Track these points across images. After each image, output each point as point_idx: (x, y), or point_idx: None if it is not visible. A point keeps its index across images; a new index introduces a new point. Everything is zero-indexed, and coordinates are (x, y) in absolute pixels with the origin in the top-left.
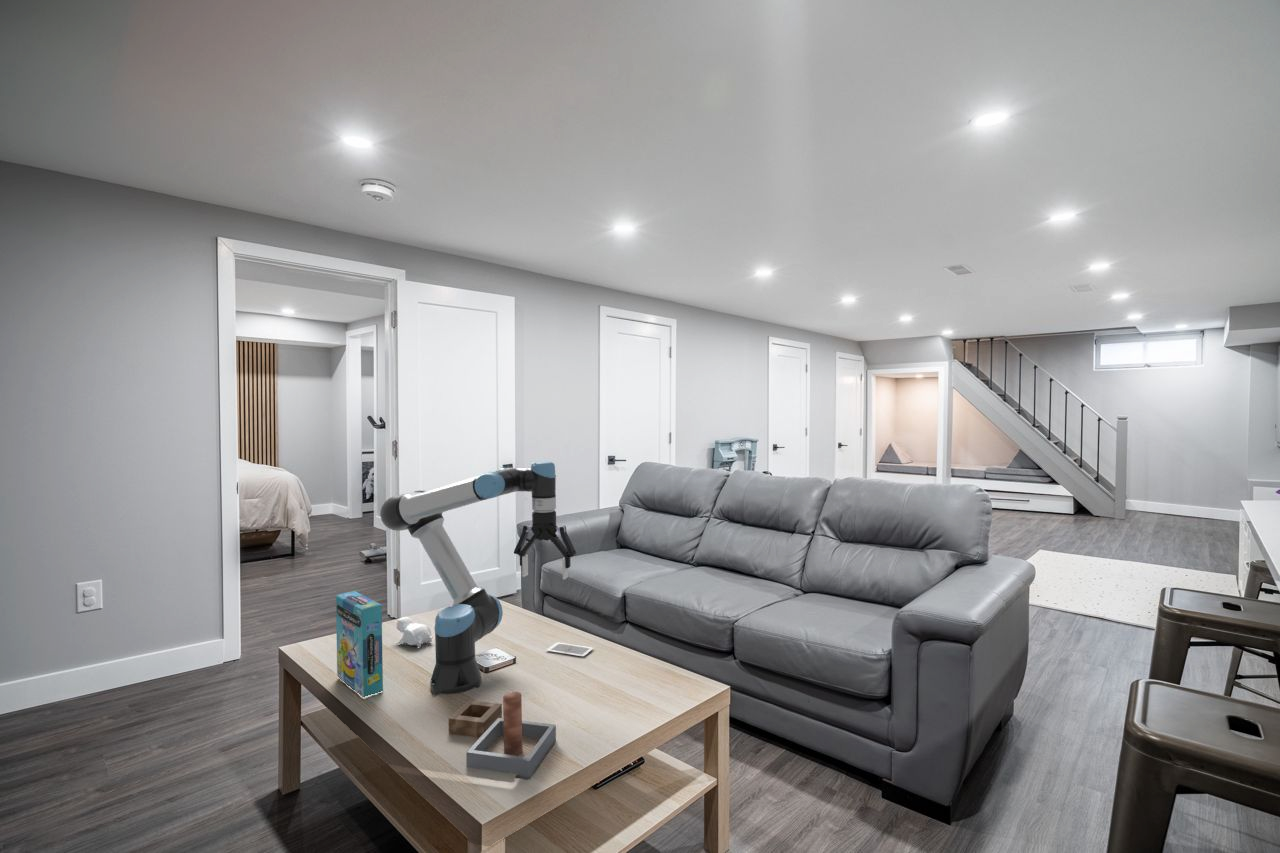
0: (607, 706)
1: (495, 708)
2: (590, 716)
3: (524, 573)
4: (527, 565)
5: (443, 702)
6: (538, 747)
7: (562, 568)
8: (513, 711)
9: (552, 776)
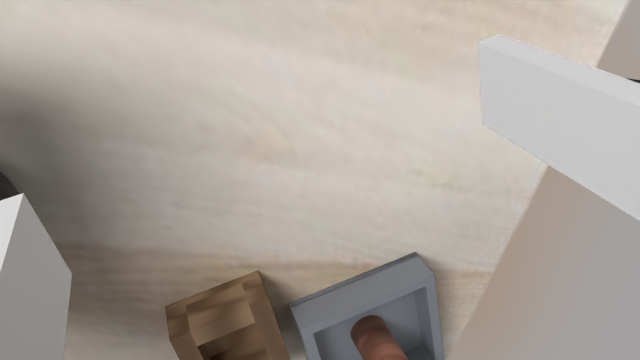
0: (461, 71)
1: (271, 321)
2: (440, 136)
3: (68, 302)
4: (11, 282)
5: None
6: (440, 339)
7: (556, 169)
8: None
9: (456, 317)
